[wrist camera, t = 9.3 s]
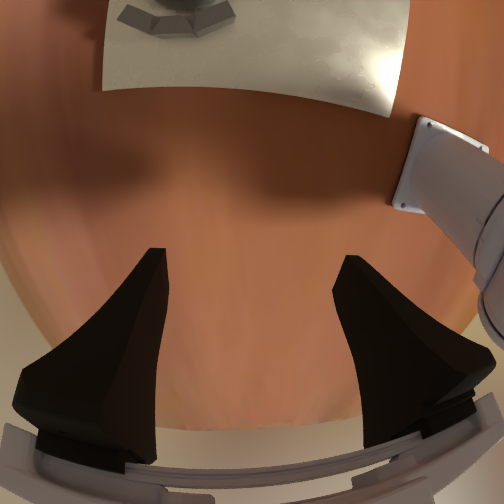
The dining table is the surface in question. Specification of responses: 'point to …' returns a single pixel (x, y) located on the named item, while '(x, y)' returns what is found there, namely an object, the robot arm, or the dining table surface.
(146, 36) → the beige plate
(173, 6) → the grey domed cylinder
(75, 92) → the dining table surface
